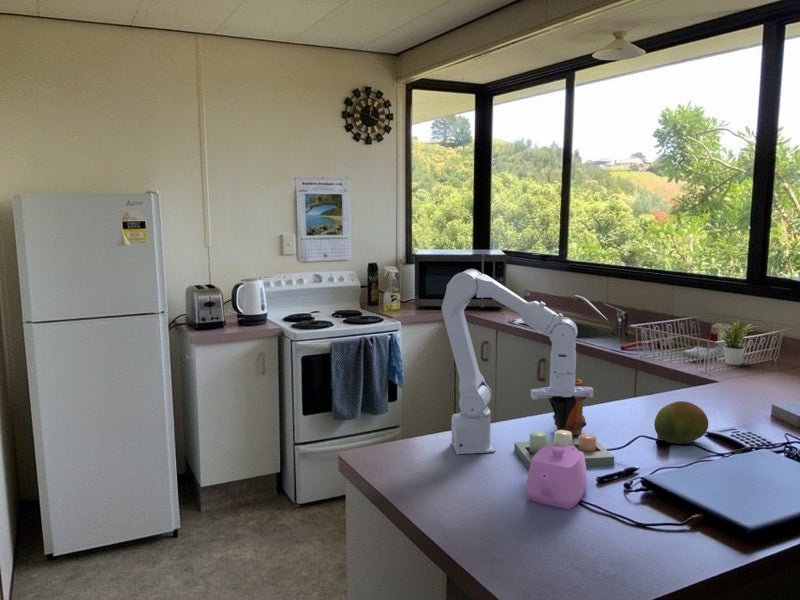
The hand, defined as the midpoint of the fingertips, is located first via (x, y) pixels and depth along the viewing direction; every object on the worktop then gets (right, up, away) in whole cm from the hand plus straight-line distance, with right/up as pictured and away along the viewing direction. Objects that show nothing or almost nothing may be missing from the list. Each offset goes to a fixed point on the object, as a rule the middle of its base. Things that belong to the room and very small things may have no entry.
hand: (561, 426), depth 151 cm
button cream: (+1, -6, +1) cm, 6 cm away
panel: (+1, -7, +1) cm, 8 cm away
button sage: (-5, -6, 0) cm, 8 cm away
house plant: (+85, +6, +83) cm, 119 cm away
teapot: (-6, -11, -18) cm, 22 cm away
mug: (+7, -5, +20) cm, 21 cm away
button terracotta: (+7, -7, +2) cm, 10 cm away
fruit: (+32, -6, +9) cm, 34 cm away
